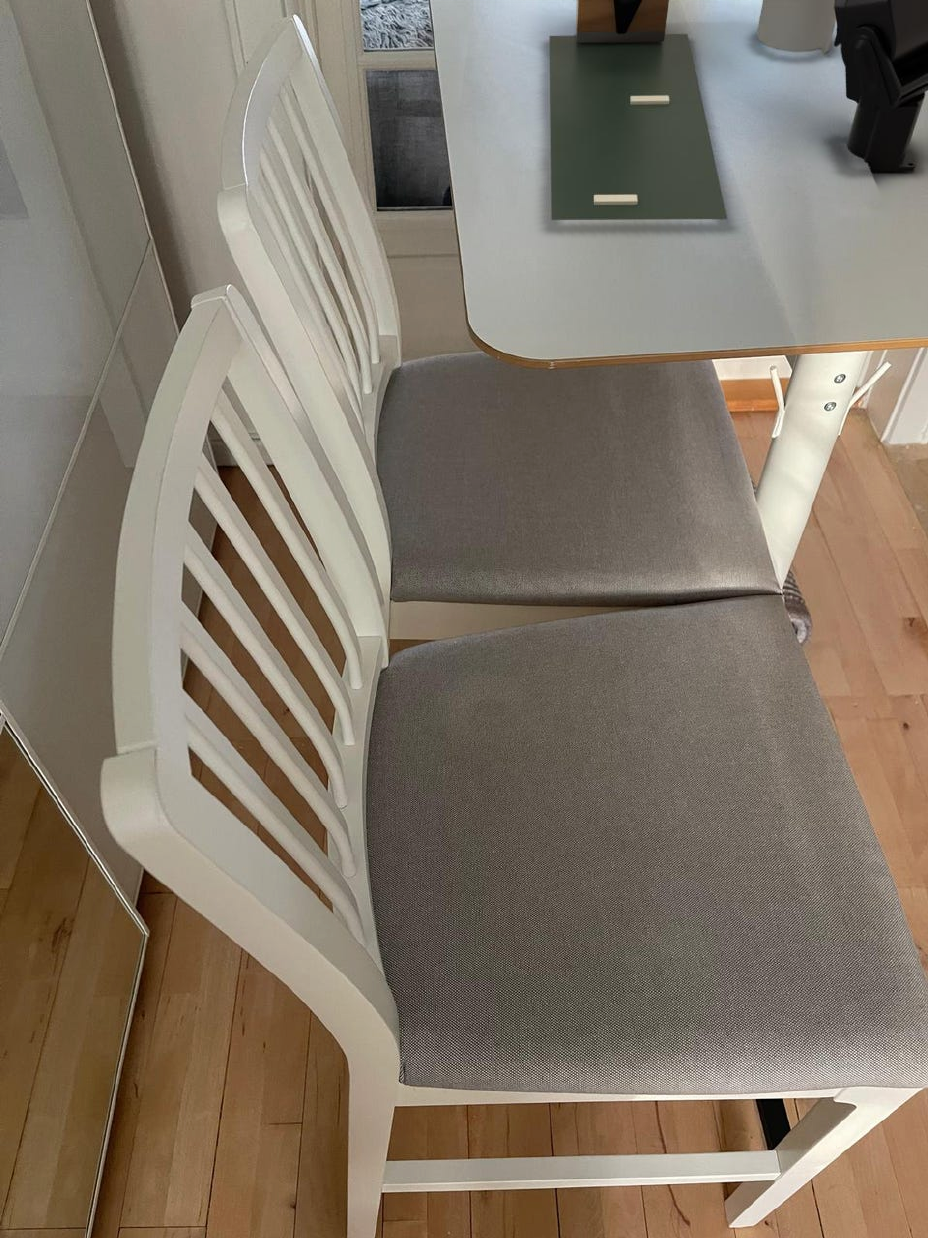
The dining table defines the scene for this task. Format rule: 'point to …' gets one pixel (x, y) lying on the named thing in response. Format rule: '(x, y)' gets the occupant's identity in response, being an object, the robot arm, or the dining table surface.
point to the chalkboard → (629, 132)
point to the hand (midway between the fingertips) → (620, 25)
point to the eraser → (600, 24)
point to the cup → (797, 24)
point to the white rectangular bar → (615, 200)
